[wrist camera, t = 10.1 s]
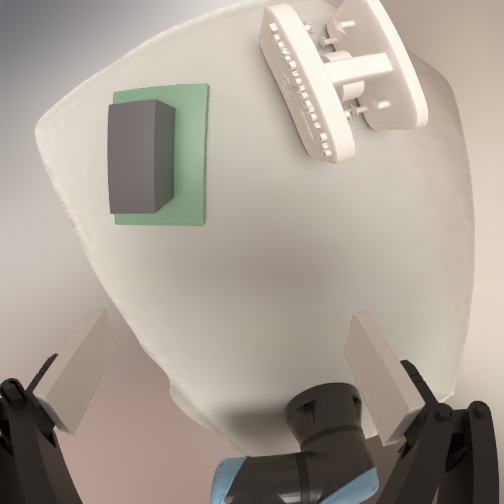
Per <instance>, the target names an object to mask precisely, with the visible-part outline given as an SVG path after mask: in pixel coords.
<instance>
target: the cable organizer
mask: <svg viewBox="0 0 504 504" xmlns="http://www.w3.org/2000/svg"><path fill="white" fill-rule="evenodd" d="M304 24H305V25H303V23H302V21H301V19H300V18H299V16H298V14H297V13H296V12H295V10H294V9H293V8H292V7H291V6H290V5H288V4H287V3H281V4H277V5H272V6H268V7H266V8H265V11H264V16H263V22H262V27H261V33H260V39H259V41H260V46H261V49H262V52H263V54H264V57H265V59H266V61H267V63H268V65H269V67H270V69H271V71H272V73H273V75H274V78H275V80H276V82H277V84H278V86H279V88H280V91H281V93H282V95H283V97H284V100H285V102H286V104H287V106H288V109H289V111H290V113H291V116H292V118H293V120H294V123H295V125H296V128H297V130H298V133H299V135H300V138H301V140H302V142H303V145H304V147H305V149H306V150H307V152H308V154H309V155H310V156H311V157H312V158H313V159H317V160H322V161H326V162H330V163H334V164H338V163H341V162H344V161H346V160H349V159H352V158H354V156H355V143H354V138H353V134H352V131H351V128H350V126H349V123H348V119H351V120H353V119H352V117H351V115H350V112H352V113H353V117H354V116H355V114H356V115H357V116H359V115H358V113H361V112H362V113H363V115H364V117H365V119H366V121H367V123H368V124H369V125H370V127H371V128H372V129H374V130H412V129H416V128H420V127H423V126H425V125H426V123H427V120H428V108H427V104H426V100H425V98H424V95H423V92H422V89H421V86H420V83H419V81H418V78H417V76H416V73H415V71H414V68H413V66H412V63H411V61H410V59H409V56H408V54H407V52H406V50H405V48H404V45H403V43H402V41H401V39H400V37H399V35H398V33H397V31H396V30H395V27H394V26H393V24H392V22H391V20H390V18H389V16H388V15H387V13H386V11H385V9H384V8H383V6H382V4H381V3H380V1H379V0H345V1H344V2H343V3H342V4H341V5H340V7H339V8H338V9H337V10H336V11H335V13H334V14H333V15H332V16H331V18H330V19H329V20H328V22H327V31H328V35H329V38H330V39H325V36H324V37H323V38H322V37H321V36H319V37H320V41H319V44H321V45H322V47H323V49H324V45H329V44H333V46H334V48H335V50H336V52H332V53H327V54H322V55H319V53H318V51H317V49H316V47H315V45H314V43H313V41H312V39H311V37H310V33H314V32H313V31H312V29H311V27H310V23H309V24H308V25H307V24H306V23H305V22H304ZM354 98H357V99H358V102H359V105H360V107H354V106H353V105H352V103H351V108H350V109H347V108H346V107H345V106H344V104H343V106H344V110H343V107H342V105H341V103H342V102H345V101H348V100H351V99H354Z"/></svg>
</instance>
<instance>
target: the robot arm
mask: <svg viewBox="0 0 504 504" xmlns="http://www.w3.org/2000/svg"><path fill="white" fill-rule="evenodd" d="M116 350H117V347H116V344H115V340H114V337H113V334H112V330H111V327H110V324H109V320H108V316H107V313H106V310H105V309H97V308H94V309H93V310H92V312H91V313H90V314H89V315H88V317H87V318H86V319H85V320H84V322H83V323H82V324H81V325H80V327H79V328H78V329H77V331H76V332H75V333H74V334H73V336H72V337H71V338H70V340H69V341H68V342H67V344H66V345H65V347H64V348H63V349H62V350H61V352H60V353H59V354H54V355H53V356H51V357H50V358H48V360H47V361H46V362H45V364H44V365H43V368H41V369H40V370H39V373H37V375H36V376H35V377H34V379H33V380H32V382H31V383H30V385H29V386H28V388H27V389H26V391H25V390H24V388H23V386H22V385H21V383H20V382H19V381H18V380H17V379H14V378H10V379H7V380H5V381H4V382H3V383H1V385H0V395H1V396H2V398H0V432H1V435H0V504H83V503H82V501H81V499H80V497H79V495H78V493H77V490H76V488H75V486H74V484H73V481H72V479H71V476H70V474H69V471H68V469H67V466H66V464H65V461H64V458H63V455H62V452H61V449H60V447H59V443H58V440H57V437H56V434H55V432H54V430H53V428H54V426H55V425H56V426H57V428H58V429H59V430H60V431H61V432H63V433H65V434H68V435H71V436H74V435H75V432H76V430H77V428H78V426H79V424H80V422H81V419H82V417H83V415H84V413H85V411H86V409H87V407H88V404H89V402H90V400H91V398H92V396H93V394H94V392H95V390H96V388H97V386H98V384H99V382H100V380H101V378H102V376H103V374H104V373H105V371H106V369H107V367H108V365H109V363H110V361H111V359H112V357H113V356H114V354H115V352H116ZM344 354H345V356H346V358H347V361H348V363H349V365H350V367H351V370H352V372H353V374H354V377H355V379H356V381H357V383H358V386H359V388H360V390H361V393H362V395H363V397H364V400H365V402H366V405H367V407H368V409H369V412H370V414H371V417H372V419H373V421H374V424H375V426H376V429H377V431H378V434H379V436H380V439H381V441H382V444H383V446H386V445H389V444H393V443H396V442H399V440H400V439H401V438H402V436H403V435H404V436H405V438H406V442H405V443H404V444H403V445H402V447H401V448H400V449H399V450H398V453H400V451H401V453H400V455H399V457H398V460H397V462H396V465H395V467H394V469H393V471H392V473H391V475H390V477H389V479H388V482H387V484H386V486H385V487H384V490H383V491H382V493H381V495H380V497H379V499H378V501H377V503H376V504H432V501H433V499H434V496H435V493H436V491H437V488H438V485H439V489H438V499H437V504H499V473H498V459H497V449H496V440H495V434H494V427H493V421H492V416H491V411H490V409H489V407H488V406H487V404H486V403H484V402H482V401H474V402H472V403H471V404H470V405H469V407H468V408H467V409H461V410H453V409H452V408H451V407H450V406H449V405H447V404H445V403H438V401H437V400H436V398H435V397H434V395H433V393H432V392H431V390H430V389H429V387H428V386H427V384H426V382H425V381H423V378H422V376H421V375H419V372H418V370H417V369H416V367H415V366H414V365H413V364H412V363H410V362H409V361H408V360H402V361H399V359H398V358H397V356H396V355H395V353H394V352H393V350H392V349H391V347H390V346H389V344H388V343H387V341H386V340H385V338H384V337H383V335H382V334H381V332H380V331H379V329H378V328H377V326H376V325H375V323H374V322H373V320H372V319H371V317H370V316H369V314H368V313H367V312H357V313H354V314H353V319H352V323H351V327H350V331H349V335H348V339H347V343H346V346H345V350H344ZM285 413H286V420H287V424H288V426H289V428H290V429H291V431H292V432H293V434H294V436H295V437H296V439H297V441H298V442H299V444H300V449H301V452H299V453H291V454H282V455H273V456H259V457H250V456H245V457H240V458H228V459H224V460H223V461H222V462H220V464H219V465H218V467H217V469H216V471H215V474H214V478H213V482H212V488H211V500H210V501H211V504H358V503H360V502H362V501H364V500H366V499H367V498H369V497H370V496H372V495H373V494H374V493H375V492H376V491H377V489H378V487H379V482H378V477H377V473H376V470H377V469H376V467H375V465H374V462H373V459H372V456H371V453H370V451H369V448H368V445H367V442H366V439H365V436H364V433H363V431H362V427H361V414H362V401H361V398H360V395H359V393H358V390H357V389H356V388H355V387H353V386H351V385H348V384H343V383H333V384H326V385H321V386H318V387H315V388H312V389H309V390H307V391H305V392H303V393H301V394H300V395H298V396H297V397H295V398H294V399H293V400H292V401H291V402H290V403H289V404H288V406H287V408H286V412H285Z"/></svg>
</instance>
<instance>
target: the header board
mask: <svg viewBox="0 0 504 504" xmlns="http://www.w3.org/2000/svg"><path fill="white" fill-rule="evenodd" d="M208 95H209V86H208V84H185V85H170V86H158V87H149V88H140V89H133V90H126V91H119V92H114V96H113V104H118V103H125V102H132V101H140V100H150V99H157V100H159V101H161V102H163V103H166V104H168V105H170V106H172V107H174V108H175V130H174V198H173V199H172V200H171V201H169V202H168V203H167V204H166V205H165V206H163V207H162V208H161V209H160V210H159V211H158V212H156V213H155V214H114V216H115V225H182V226H203V225H204V223H205V161H206V133H207V112H208Z"/></svg>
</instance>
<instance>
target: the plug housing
mask: <svg viewBox="0 0 504 504" xmlns="http://www.w3.org/2000/svg"><path fill="white" fill-rule="evenodd" d="M174 130H175V108H174V107H172V106H170V105H168V104H166V103H163V102H161V101H159V100H157V99H150V100H140V101H132V102H125V103H118V104H112V105H109V112H108V185H109V201H110V214H155V213H156V212H158V211H159V210H160V209H161V208H162V207H163V206H165V205H166V204H167V203H168V202H169V201H171V200H172V199H173V198H174Z"/></svg>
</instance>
